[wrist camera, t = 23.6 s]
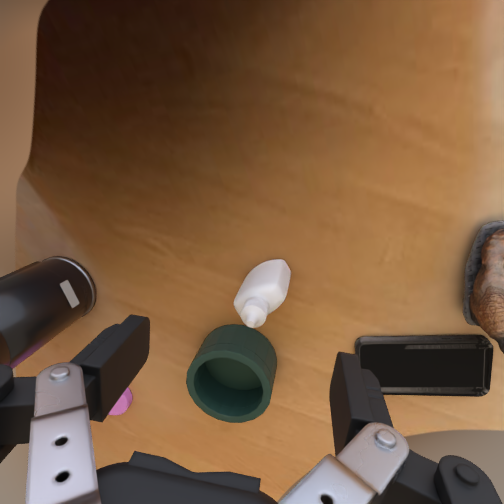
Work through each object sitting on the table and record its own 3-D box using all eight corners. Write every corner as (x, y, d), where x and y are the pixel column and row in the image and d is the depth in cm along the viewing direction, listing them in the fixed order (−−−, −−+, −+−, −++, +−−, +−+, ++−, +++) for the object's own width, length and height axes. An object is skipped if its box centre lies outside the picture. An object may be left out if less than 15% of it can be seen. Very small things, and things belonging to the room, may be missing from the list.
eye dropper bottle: (290, 291, 42) (280, 347, 31) (246, 288, 43) (221, 342, 32) (291, 258, 41) (281, 304, 30) (245, 256, 42) (219, 300, 31)
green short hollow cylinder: (198, 379, 49) (183, 410, 44) (205, 316, 46) (189, 341, 40) (270, 397, 48) (263, 431, 42) (283, 334, 44) (277, 362, 39)
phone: (488, 396, 40) (357, 394, 44) (484, 390, 41) (357, 388, 45) (494, 339, 38) (355, 341, 41) (489, 333, 39) (354, 336, 42)
